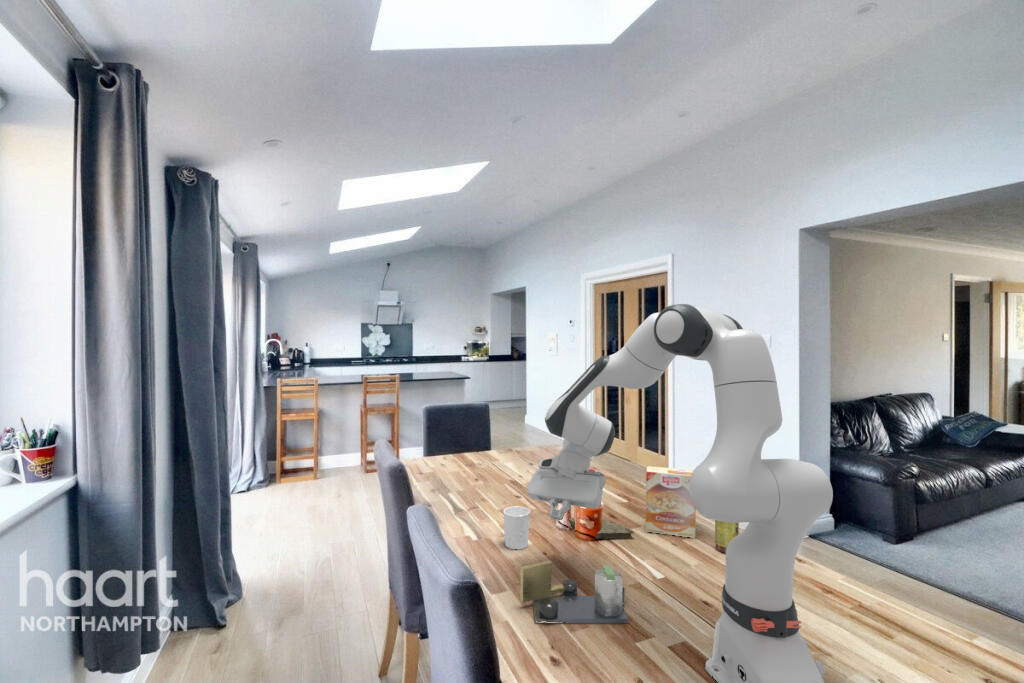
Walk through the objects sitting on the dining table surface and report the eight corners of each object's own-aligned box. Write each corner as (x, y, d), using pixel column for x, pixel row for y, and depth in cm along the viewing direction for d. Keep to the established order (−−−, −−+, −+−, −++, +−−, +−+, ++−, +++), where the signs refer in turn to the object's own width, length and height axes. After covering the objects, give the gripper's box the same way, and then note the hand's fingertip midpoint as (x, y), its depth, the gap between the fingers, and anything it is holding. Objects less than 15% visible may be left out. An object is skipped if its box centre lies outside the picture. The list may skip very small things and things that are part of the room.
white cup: (498, 547, 138) (498, 512, 138) (510, 537, 145) (511, 504, 145) (522, 553, 135) (522, 518, 135) (534, 542, 142) (534, 509, 142)
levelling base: (633, 624, 102) (634, 579, 101) (535, 624, 101) (535, 579, 101) (621, 599, 112) (622, 557, 111) (532, 598, 111) (533, 557, 111)
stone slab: (547, 522, 156) (549, 507, 156) (567, 519, 165) (569, 504, 165) (620, 550, 138) (623, 533, 139) (638, 545, 147) (640, 528, 148)
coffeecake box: (645, 532, 150) (645, 471, 150) (645, 524, 157) (646, 465, 156) (695, 539, 145) (696, 475, 145) (694, 530, 152) (695, 469, 152)
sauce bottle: (741, 556, 134) (742, 485, 134) (717, 553, 136) (718, 484, 135) (735, 546, 141) (736, 479, 141) (712, 544, 142) (713, 477, 142)
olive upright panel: (571, 587, 116) (572, 552, 116) (580, 595, 113) (580, 558, 112) (517, 602, 109) (518, 564, 109) (525, 610, 106) (525, 571, 106)
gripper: (611, 479, 123) (598, 530, 115) (543, 472, 134) (526, 518, 126) (603, 466, 119) (589, 517, 111) (534, 460, 131) (516, 506, 123)
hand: (555, 518), depth 119 cm, fingers closed
